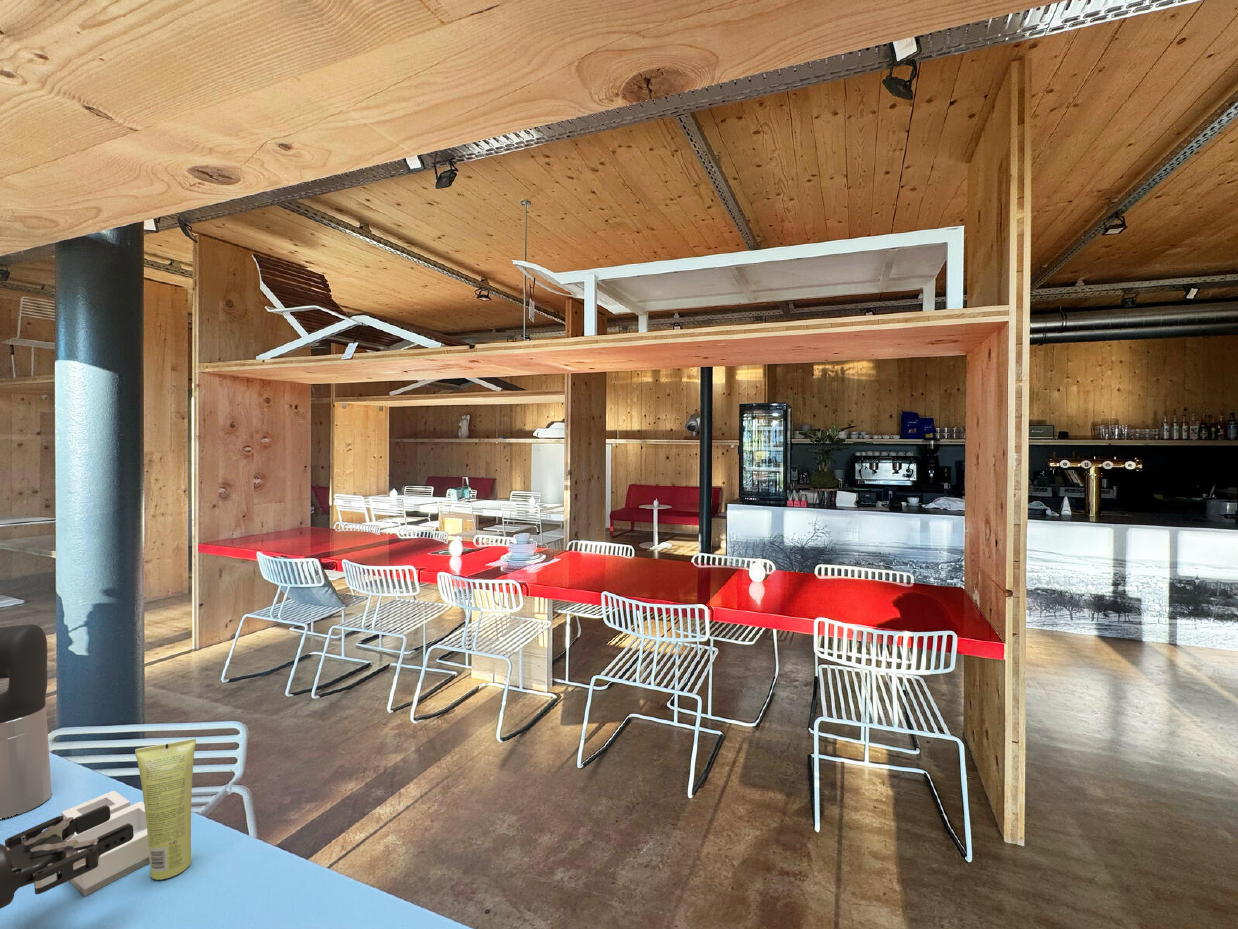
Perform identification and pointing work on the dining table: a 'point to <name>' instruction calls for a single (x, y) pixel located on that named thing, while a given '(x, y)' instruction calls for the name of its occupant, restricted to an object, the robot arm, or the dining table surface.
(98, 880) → the endcap
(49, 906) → the dining table surface
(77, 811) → the endcap
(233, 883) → the dining table surface
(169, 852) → the tube
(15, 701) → the robot arm
